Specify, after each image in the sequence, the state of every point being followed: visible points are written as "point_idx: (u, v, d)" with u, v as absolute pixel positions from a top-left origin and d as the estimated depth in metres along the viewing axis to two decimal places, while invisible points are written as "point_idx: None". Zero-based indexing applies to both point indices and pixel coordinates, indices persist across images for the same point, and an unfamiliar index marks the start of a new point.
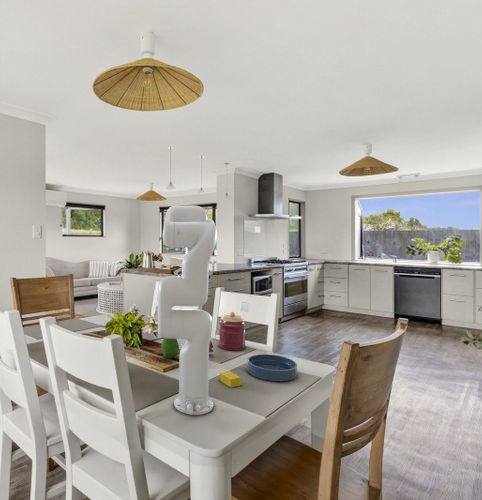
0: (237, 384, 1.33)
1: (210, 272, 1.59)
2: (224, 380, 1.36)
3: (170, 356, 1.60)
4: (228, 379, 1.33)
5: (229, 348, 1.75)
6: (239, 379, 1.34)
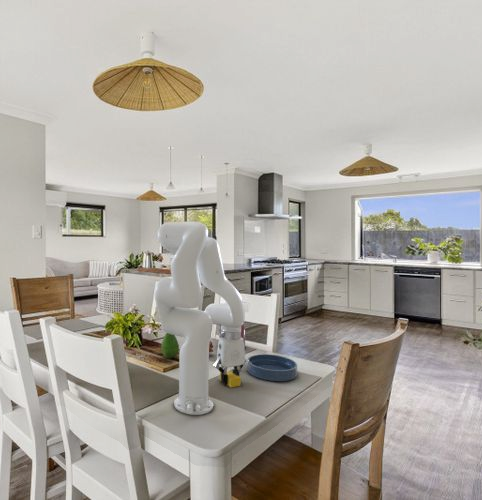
0: (237, 384, 1.33)
1: (244, 360, 1.38)
2: None
3: (170, 356, 1.60)
4: (228, 379, 1.33)
5: None
6: (239, 379, 1.34)
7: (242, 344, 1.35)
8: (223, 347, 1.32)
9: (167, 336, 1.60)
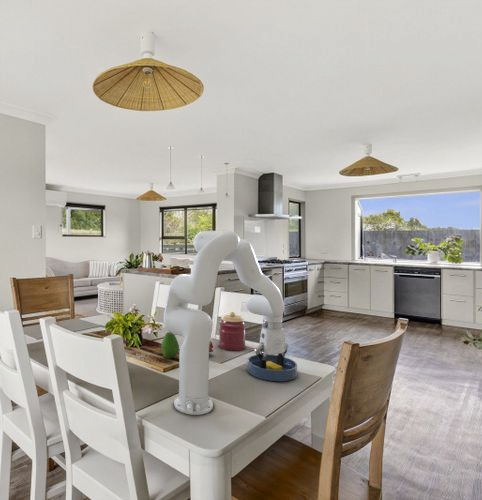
0: None
1: (286, 346, 1.49)
2: None
3: (170, 356, 1.60)
4: (270, 368, 1.44)
5: (229, 348, 1.75)
6: (281, 368, 1.44)
7: (283, 334, 1.45)
8: (266, 336, 1.42)
9: (167, 336, 1.60)
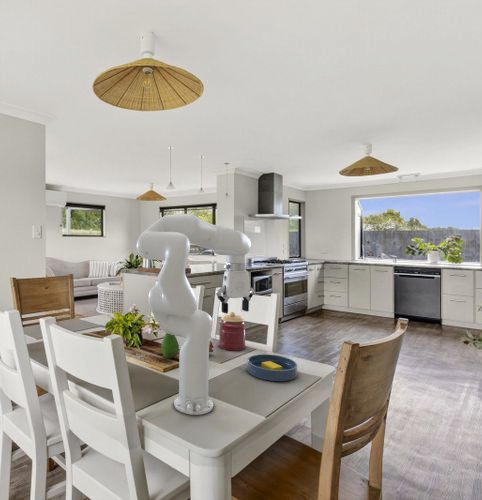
0: None
1: (252, 290, 1.41)
2: None
3: (170, 356, 1.60)
4: (270, 368, 1.44)
5: (229, 348, 1.75)
6: (281, 368, 1.44)
7: (247, 276, 1.38)
8: (228, 278, 1.35)
9: (167, 336, 1.60)
